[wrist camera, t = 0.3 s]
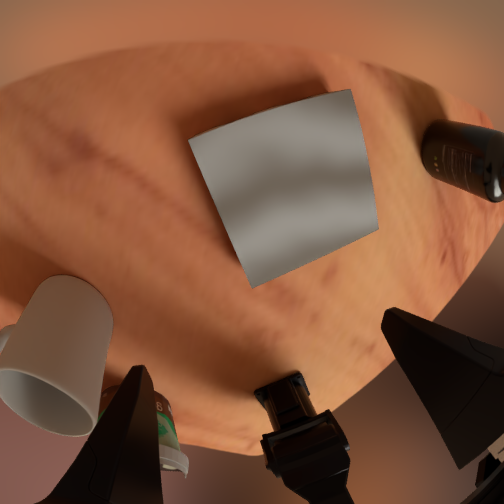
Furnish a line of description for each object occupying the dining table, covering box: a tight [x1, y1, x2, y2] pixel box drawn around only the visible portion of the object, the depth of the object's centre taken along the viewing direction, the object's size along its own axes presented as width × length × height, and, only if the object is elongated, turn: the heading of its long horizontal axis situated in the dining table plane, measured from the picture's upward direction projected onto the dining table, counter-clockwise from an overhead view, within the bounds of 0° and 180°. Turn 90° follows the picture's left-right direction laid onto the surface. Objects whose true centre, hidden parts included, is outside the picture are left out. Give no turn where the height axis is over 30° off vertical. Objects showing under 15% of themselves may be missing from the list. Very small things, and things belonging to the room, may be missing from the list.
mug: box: [0, 275, 113, 437], centre depth 16 cm, size 12×8×11 cm
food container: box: [97, 385, 189, 478], centre depth 24 cm, size 12×6×10 cm, turn 69°
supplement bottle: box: [422, 120, 504, 203], centre depth 18 cm, size 7×7×12 cm
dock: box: [188, 89, 379, 288], centre depth 20 cm, size 12×12×2 cm
